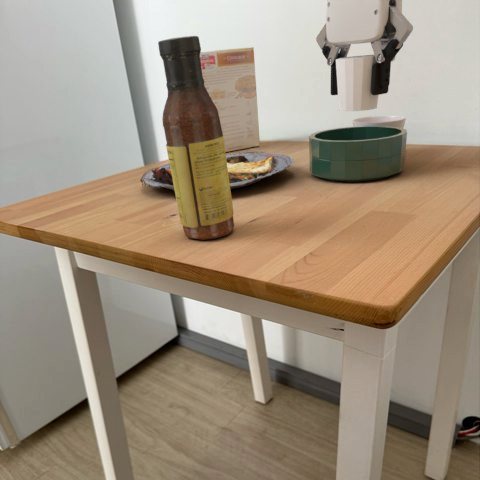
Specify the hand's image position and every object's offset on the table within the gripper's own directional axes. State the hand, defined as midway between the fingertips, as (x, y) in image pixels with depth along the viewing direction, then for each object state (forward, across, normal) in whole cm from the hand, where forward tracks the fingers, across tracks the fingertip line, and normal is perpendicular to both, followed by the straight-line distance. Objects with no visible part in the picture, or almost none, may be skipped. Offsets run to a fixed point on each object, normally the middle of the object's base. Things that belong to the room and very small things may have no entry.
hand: (358, 93), depth 70 cm
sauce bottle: (+12, -5, +33) cm, 35 cm away
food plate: (+12, +16, +16) cm, 26 cm away
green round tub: (+12, 0, 0) cm, 12 cm away
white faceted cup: (+2, 0, 0) cm, 2 cm away
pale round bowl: (+12, +5, -12) cm, 18 cm away
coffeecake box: (+12, +39, -3) cm, 41 cm away
